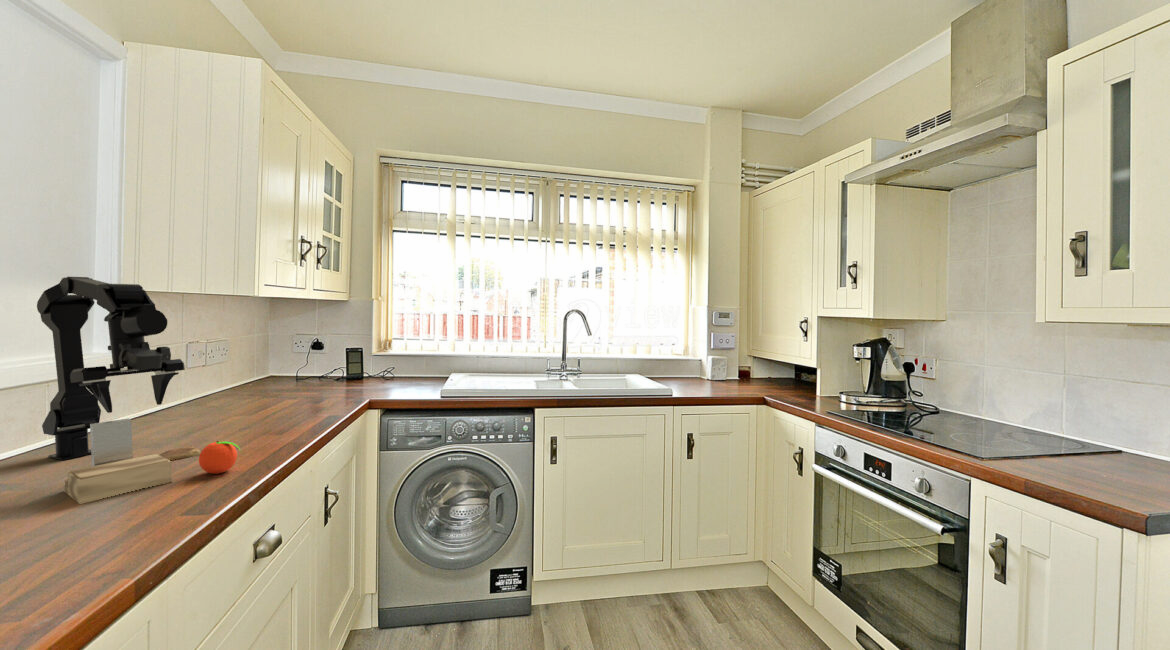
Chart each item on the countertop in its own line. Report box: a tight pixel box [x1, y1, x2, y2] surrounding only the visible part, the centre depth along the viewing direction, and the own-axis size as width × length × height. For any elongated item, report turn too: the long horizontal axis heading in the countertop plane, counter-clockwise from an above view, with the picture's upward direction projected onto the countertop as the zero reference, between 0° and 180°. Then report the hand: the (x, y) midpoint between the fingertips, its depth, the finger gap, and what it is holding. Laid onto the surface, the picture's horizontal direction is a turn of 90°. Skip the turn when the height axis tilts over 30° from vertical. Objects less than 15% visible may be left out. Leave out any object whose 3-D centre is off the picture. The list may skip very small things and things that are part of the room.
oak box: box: [63, 453, 173, 505], centre depth 104 cm, size 12×14×5 cm
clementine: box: [198, 440, 242, 475], centre depth 112 cm, size 8×7×7 cm
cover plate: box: [89, 418, 134, 466], centre depth 105 cm, size 2×6×13 cm, turn 146°
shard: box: [159, 445, 201, 461], centre depth 123 cm, size 11×8×2 cm
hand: (135, 408), depth 113 cm, fingers open, 9 cm apart
